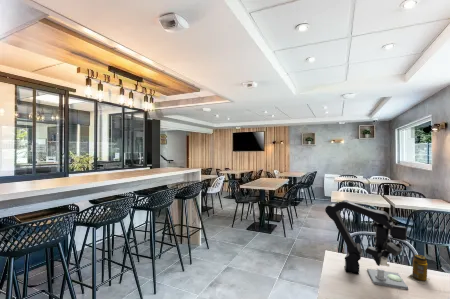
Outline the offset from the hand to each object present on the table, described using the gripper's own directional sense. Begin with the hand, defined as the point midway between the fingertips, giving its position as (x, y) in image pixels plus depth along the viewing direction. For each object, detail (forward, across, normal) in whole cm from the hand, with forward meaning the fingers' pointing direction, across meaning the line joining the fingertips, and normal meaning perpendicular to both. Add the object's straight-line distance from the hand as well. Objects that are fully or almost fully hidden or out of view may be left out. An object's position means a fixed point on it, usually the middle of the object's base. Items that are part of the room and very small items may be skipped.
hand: (381, 264), depth 124 cm
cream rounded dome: (-1, 0, 0) cm, 1 cm away
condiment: (+9, +20, -8) cm, 23 cm away
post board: (+8, +3, -1) cm, 9 cm away
